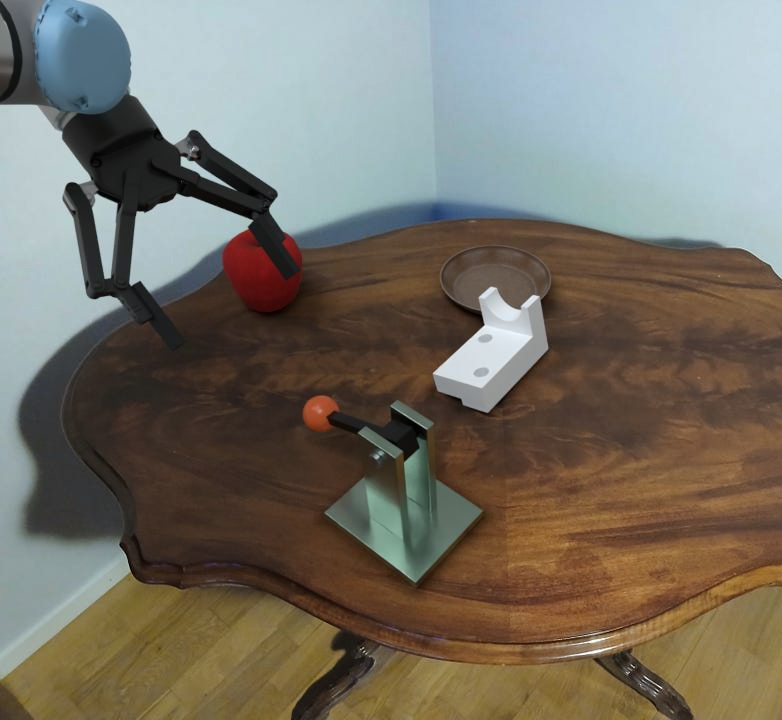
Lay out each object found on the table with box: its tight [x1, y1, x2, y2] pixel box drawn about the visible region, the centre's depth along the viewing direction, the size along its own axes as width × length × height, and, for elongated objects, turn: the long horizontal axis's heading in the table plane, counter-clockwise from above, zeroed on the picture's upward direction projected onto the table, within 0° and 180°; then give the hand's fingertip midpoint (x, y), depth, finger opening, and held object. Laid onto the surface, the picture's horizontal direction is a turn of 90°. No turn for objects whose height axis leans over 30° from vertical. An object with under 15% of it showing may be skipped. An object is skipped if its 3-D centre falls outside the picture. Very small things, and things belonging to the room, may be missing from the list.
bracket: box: [432, 287, 549, 414], centre depth 85 cm, size 13×7×8 cm, turn 145°
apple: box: [221, 228, 303, 313], centre depth 92 cm, size 10×10×11 cm
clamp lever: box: [302, 394, 420, 462], centre depth 68 cm, size 14×4×4 cm, turn 52°
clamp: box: [323, 399, 484, 590], centre depth 67 cm, size 12×10×14 cm
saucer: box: [439, 244, 552, 316], centre depth 97 cm, size 15×15×3 cm
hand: (239, 309), depth 70 cm, fingers open, 13 cm apart
